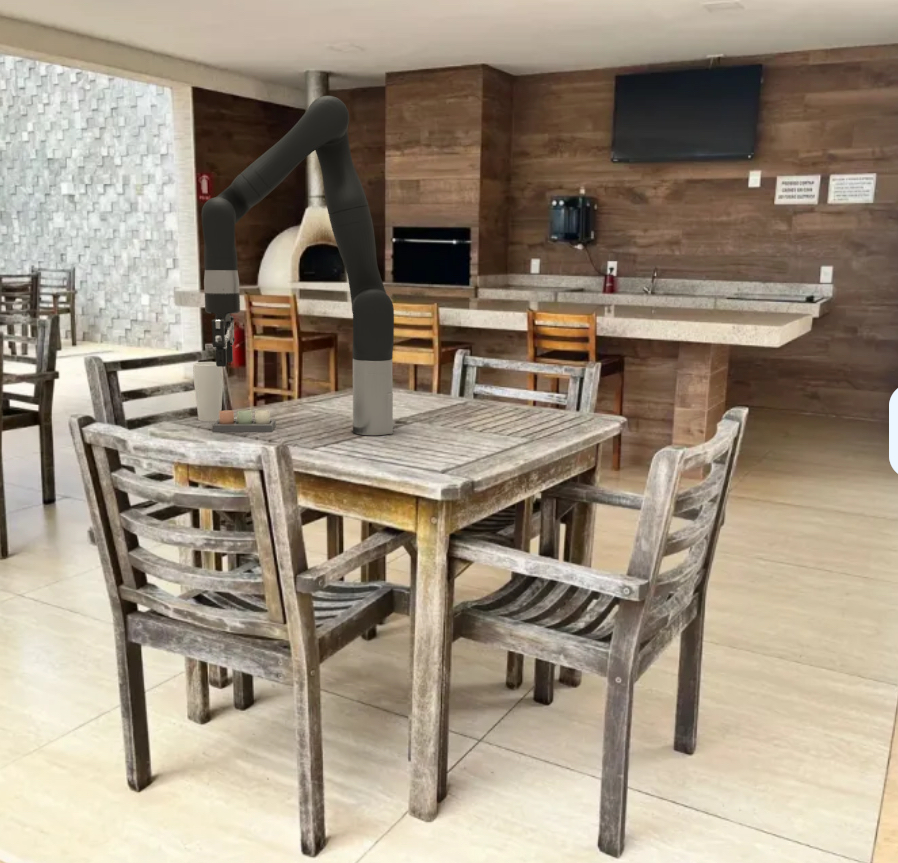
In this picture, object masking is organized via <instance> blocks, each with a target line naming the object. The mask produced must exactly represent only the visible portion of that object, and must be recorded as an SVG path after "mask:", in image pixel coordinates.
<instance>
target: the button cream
mask: <svg viewBox="0 0 898 863" xmlns="http://www.w3.org/2000/svg"><path fill="white" fill-rule="evenodd" d="M270 415H271V414H270V410H266V409H265V410H264V409H263V410H255V411H254V416H255V417H254V419H255V424H270V419H271V418H270Z"/></svg>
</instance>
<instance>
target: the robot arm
mask: <svg viewBox="0 0 898 863" xmlns="http://www.w3.org/2000/svg"><path fill="white" fill-rule="evenodd" d="M349 125H350V113H349V110H348V108H347V106H346V104H345V103H344V102H343V101H342V100H341V99H340V98H338V97H335V96H333V95H324V96H320V97H317V98H316V99H314V100H313V101H312V102H311V103H310V105H309V107H308V108H307V110H306V111H305V112H304V114H303V115H302V116H301V117H300V119H299V120H298V121H297V122H296V124H294V125H293V127H292V128H291V129H290V130H288V132H287V133H286V134H285V135H283V137H281V139H280V140H278V141H277V142H276V143H275V144H273V146H271V147H270V148H269V149H267V150H266V151H265V152H264V153H262V155H260V156H259V157H258V158H257V159H255V160H254V161H253V162H252V163H251V164H249V166H247V167H246V168H245V169H244V170H243V171H241V172H240V173H239V174H237V176H236V177H235V178H234V179H233V181H232V182H231V184H230V185H229V186H228V187H227V188H225V189H224V190H223V191H222V192H220V193H219V194H218V195H217V196H216V197H212V198H209V199H208V200H207V201H205V203H204V204H203V205H202V209H201V225H202V235H203V241H204V251H203V258H204V259H203V260H204V277H203V278H204V279H203V286H204V287H203V288H204V310H205V312H206V313H207V314H214V315H215V318H214V319H212V320H211V325H212V326H211V328H212V329H211V331H212V347H213V348H214V350H215V362H216V366H218V367H223V368H224V367H226V366H228V363H232V362H233V361H234V357H233V356H234V353H233V350H234V349H233V346H234V343H235V341H236V338H235V324H234V320H235V319H234V316H233V315H231V314H238V313H240V311H241V300H240V299H241V298H240V296H241V294H240V278H239V272H238V253H237V252H238V251H237V247H236V224H237V223H239V221H240V220H242V218H243V217H244V216H245V215H246V214H247V213H249V211H250V210H251V209H252V208H253V207H254V206H256V205H257V204H259V203H260V202H261V201H262V200H263V199H265V198H266V197H267V196H269V194H271V193H272V191H274V190H275V189H276V188H277V187H278V186H279V185H280V184H281V183H282V182H283V181H284V180H285V179H286V178H287V177H288V176H289V175H290V174H291V173H292V172H293V171H294V170H295V169H296V167H298V165H300V163H302V162H303V161H304V160H305V159H306V158H307V157H309V156H310V154H312V153H314V152H315V153H316V157H317V160H318V163H319V166H320V170H321V176H322V183H323V184H322V186H323V191H324V198H325V203H326V208H327V213H328V218H329V222H330V226H331V229H332V231H331V232H332V234H333V237H334V241H335V243H336V246H337V249H338V252H339V255H340V258H341V259H342V263H343V265H344V269H345V272H346V274H347V275H346V276H347V280H348V281H347V282H348V286H349V287H348V288H349V292H350V293H349V294H350V301H351V314H352V432H353V433H354V434H357V435H363V436H381V435H382V436H383V435H393V432H394V431H393V430H394V429H393V428H394V427H393V426H394V424H393V423H394V422H393V421H394V418H393V414H394V413H393V410H394V407H393V406H394V405H393V404H394V400H393V398H394V396H393V395H394V394H393V356H394V353H393V352H394V346H395V345H394V344H395V343H394V338H395V336H394V332H395V331H394V330H395V311H394V310H395V309H394V304H393V301H392V299H391V297H390V296H389V295H388V294H387V292H386V288H385V286H384V283H383V280H382V278H381V274H380V270H379V266H378V261H377V248H376V247H377V246H376V238H375V230H374V224H373V219H372V214H371V211H370V207H369V202H368V199H367V196H366V193H365V189H364V187H363V185H362V182H361V179H360V178H359V175H358V173H357V170H356V168H355V165H354V163H353V162H354V161H353V158H352V154H351V146H350V141H349V133H348V132H349V131H348V128H349Z"/></svg>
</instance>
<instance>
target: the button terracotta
mask: <svg viewBox="0 0 898 863" xmlns="http://www.w3.org/2000/svg"><path fill="white" fill-rule="evenodd" d="M234 419H235V411H234V410H231V409H230V410H228V409H227V410H226V409H225V410H221V411H219V422H220V424H234Z"/></svg>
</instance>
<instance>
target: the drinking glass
mask: <svg viewBox="0 0 898 863" xmlns="http://www.w3.org/2000/svg"><path fill="white" fill-rule="evenodd" d="M223 368H224V367H218V366H216V361H198V362H194V363H193V373H192V374H193V384H194V385H193V386H194V392H195V401H196V409H197V410H196V411H197V418H198V421H200V422H216V421H217V420H218V419H219V411H223V410H222V408H223V406H222V405H223V389H224V387H223V386H224V370H223Z"/></svg>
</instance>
